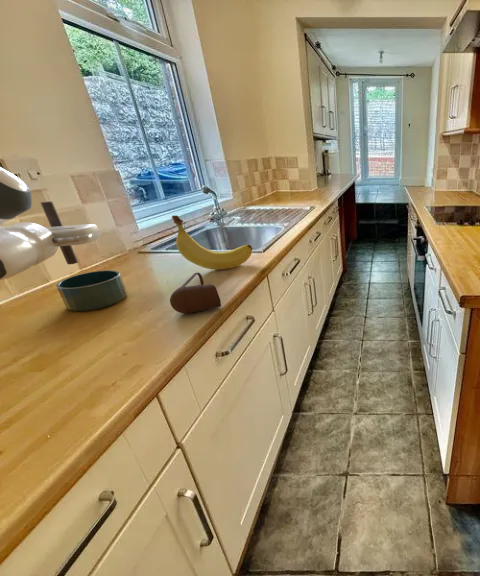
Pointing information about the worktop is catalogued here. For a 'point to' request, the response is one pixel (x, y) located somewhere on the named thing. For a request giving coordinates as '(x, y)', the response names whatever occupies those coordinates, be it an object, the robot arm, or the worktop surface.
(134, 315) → the worktop surface
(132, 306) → the worktop surface
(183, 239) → the banana
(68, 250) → the stirring stick
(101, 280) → the bowl
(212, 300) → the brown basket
